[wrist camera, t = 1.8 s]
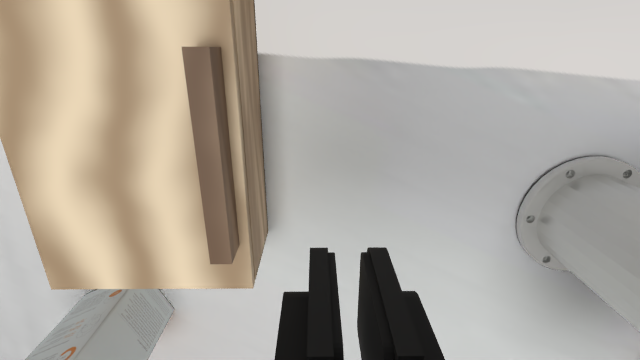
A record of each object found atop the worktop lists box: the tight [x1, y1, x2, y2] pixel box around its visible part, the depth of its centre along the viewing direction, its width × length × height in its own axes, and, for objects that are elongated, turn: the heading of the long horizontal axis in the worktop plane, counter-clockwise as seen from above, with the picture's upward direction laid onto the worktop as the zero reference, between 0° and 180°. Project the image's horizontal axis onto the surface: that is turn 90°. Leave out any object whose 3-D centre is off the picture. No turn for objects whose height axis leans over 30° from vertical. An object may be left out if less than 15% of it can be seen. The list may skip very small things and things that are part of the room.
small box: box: [25, 289, 174, 360], centre depth 33 cm, size 8×6×13 cm
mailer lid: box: [0, 0, 255, 289], centre depth 23 cm, size 16×22×3 cm
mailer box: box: [232, 0, 268, 279], centre depth 28 cm, size 16×22×8 cm
